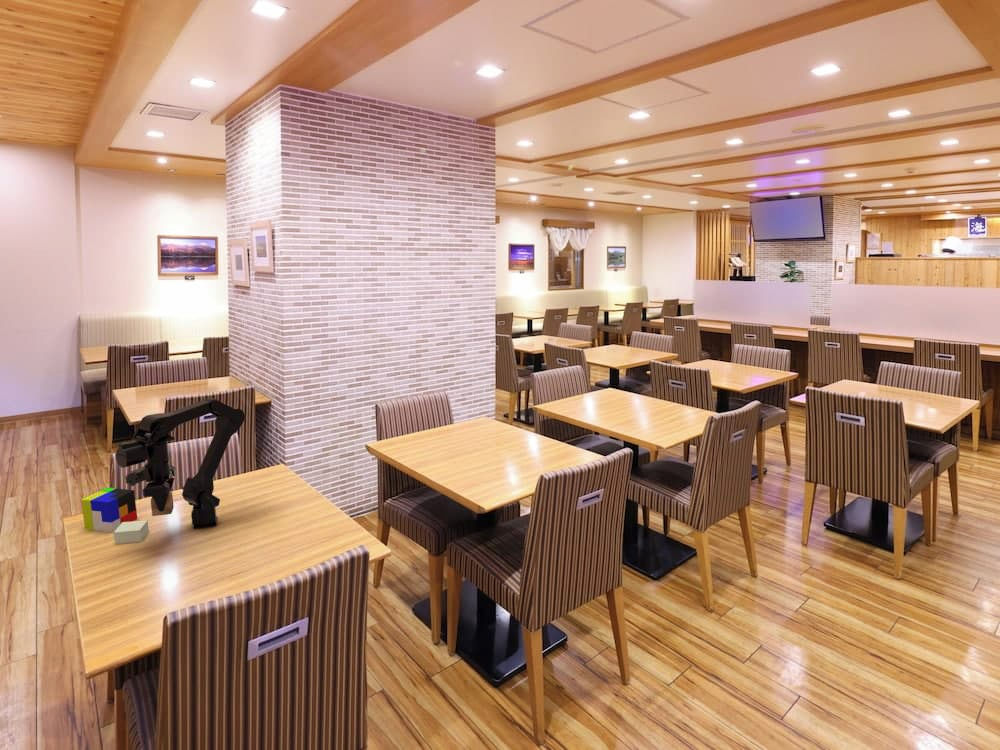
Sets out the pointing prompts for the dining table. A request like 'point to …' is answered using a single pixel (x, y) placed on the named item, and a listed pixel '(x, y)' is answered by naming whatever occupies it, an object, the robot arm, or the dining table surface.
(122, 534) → the base block
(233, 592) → the dining table surface
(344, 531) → the dining table surface
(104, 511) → the puzzle toy
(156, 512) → the walnut cube
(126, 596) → the dining table surface
